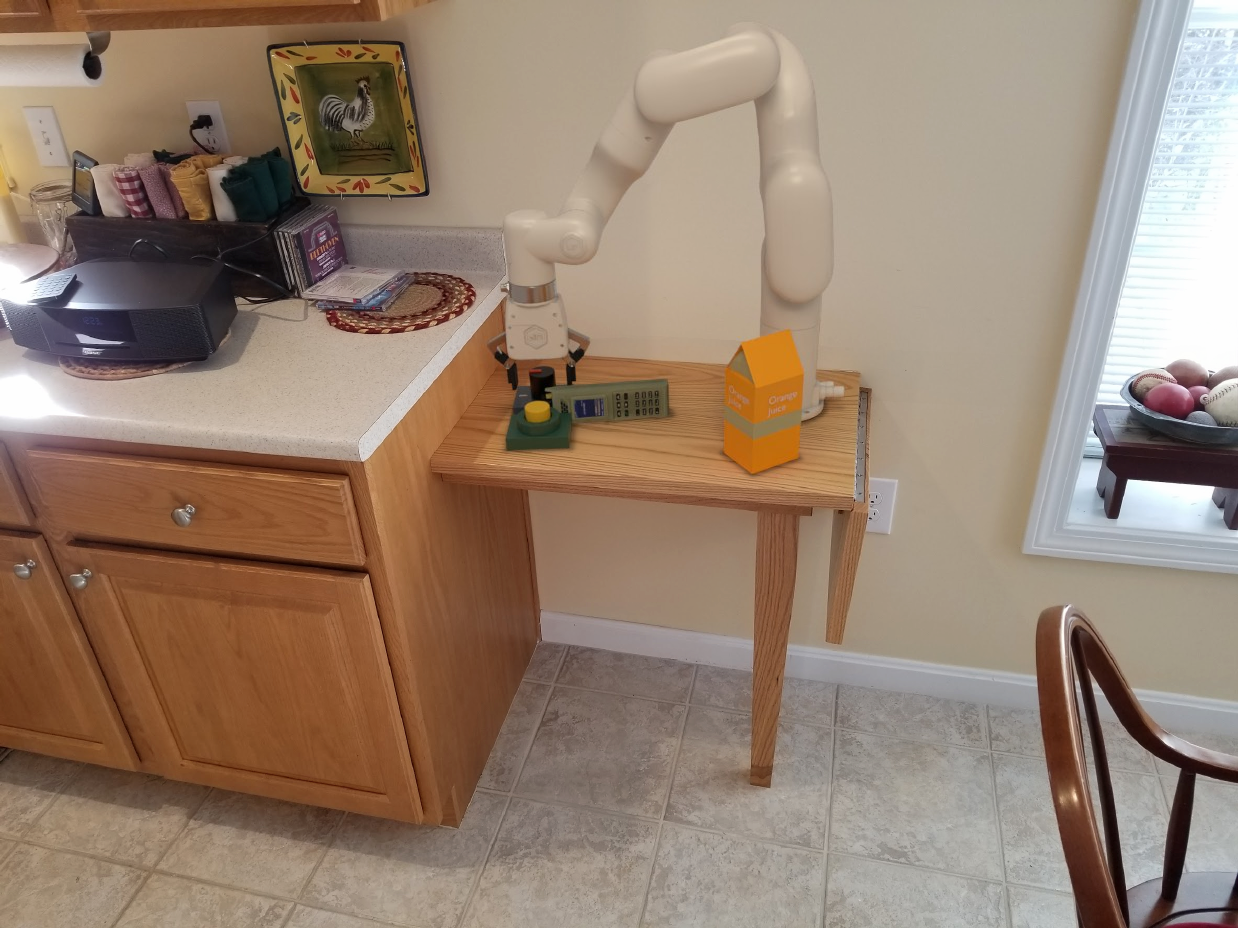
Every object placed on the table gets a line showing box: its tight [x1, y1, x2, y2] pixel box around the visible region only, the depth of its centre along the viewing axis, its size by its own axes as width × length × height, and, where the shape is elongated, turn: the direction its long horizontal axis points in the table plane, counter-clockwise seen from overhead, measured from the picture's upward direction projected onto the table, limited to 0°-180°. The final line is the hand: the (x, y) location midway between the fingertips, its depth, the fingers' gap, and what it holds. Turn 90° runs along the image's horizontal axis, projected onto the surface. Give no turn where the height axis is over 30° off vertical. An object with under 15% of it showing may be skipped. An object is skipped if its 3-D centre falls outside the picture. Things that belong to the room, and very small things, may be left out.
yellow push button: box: [525, 401, 551, 423], centre depth 146 cm, size 4×4×2 cm
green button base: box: [505, 407, 573, 451], centre depth 147 cm, size 10×8×4 cm
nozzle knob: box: [528, 365, 557, 401], centre depth 154 cm, size 4×4×5 cm
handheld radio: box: [545, 378, 670, 424], centre depth 152 cm, size 7×3×25 cm
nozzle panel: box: [512, 383, 575, 415], centre depth 156 cm, size 10×9×3 cm
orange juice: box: [723, 329, 804, 475], centre depth 135 cm, size 8×9×20 cm
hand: (542, 385), depth 155 cm, fingers open, 9 cm apart
